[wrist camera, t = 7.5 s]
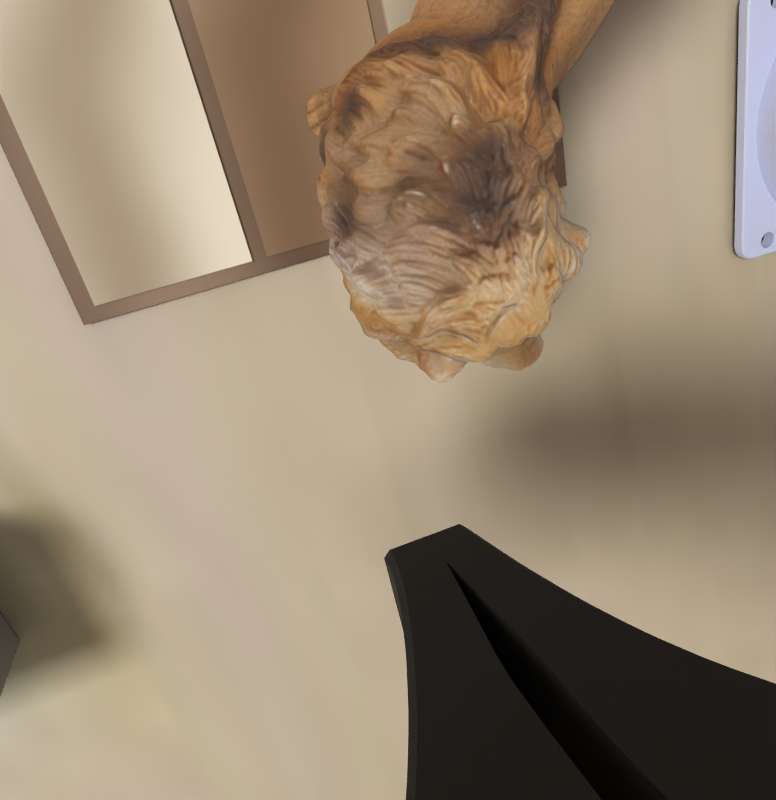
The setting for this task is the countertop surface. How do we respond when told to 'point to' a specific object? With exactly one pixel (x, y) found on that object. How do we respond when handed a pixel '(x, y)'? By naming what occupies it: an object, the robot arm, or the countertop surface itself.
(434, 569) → the robot arm
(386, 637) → the countertop surface
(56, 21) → the brown framed panel
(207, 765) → the countertop surface
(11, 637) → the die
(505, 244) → the lion figurine
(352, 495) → the countertop surface
